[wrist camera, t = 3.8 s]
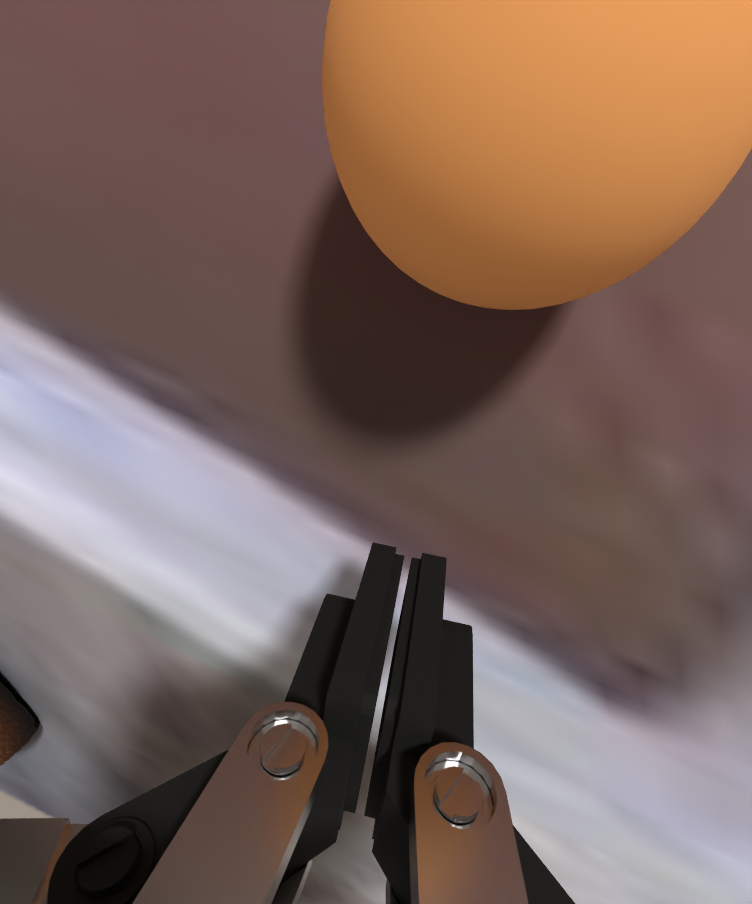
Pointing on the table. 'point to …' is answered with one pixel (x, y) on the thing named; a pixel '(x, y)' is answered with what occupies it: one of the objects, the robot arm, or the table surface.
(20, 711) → the sunglasses case
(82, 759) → the table surface
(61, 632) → the table surface
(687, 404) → the table surface
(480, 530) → the table surface
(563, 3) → the ball
